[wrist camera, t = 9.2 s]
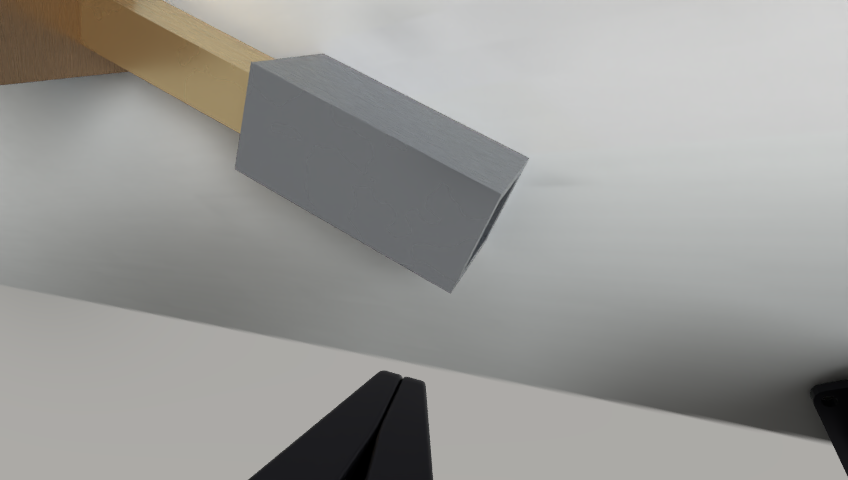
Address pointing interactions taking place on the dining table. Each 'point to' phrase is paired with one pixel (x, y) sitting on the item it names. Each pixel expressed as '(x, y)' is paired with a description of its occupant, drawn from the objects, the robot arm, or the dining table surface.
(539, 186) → the dining table surface
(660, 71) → the dining table surface
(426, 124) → the outer sleeve
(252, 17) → the dining table surface
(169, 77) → the upright wooden plank
